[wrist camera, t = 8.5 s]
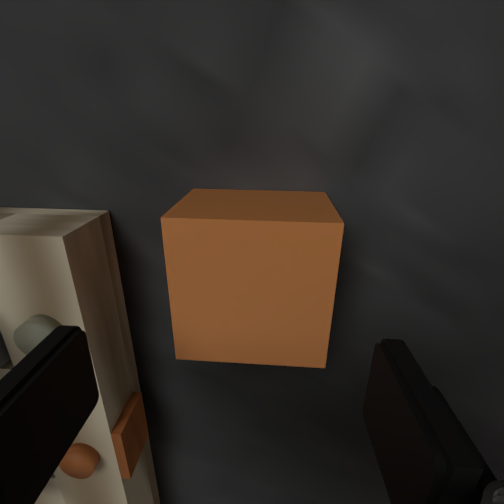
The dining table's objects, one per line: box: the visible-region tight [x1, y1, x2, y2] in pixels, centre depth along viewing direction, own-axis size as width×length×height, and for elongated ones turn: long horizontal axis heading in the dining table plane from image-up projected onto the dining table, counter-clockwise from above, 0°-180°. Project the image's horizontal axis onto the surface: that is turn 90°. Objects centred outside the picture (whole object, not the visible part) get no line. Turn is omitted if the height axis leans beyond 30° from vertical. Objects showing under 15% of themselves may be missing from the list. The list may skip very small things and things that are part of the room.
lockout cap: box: [161, 189, 344, 368], centre depth 15 cm, size 7×7×5 cm
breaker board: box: [0, 207, 160, 504], centre depth 21 cm, size 15×28×5 cm, turn 179°
